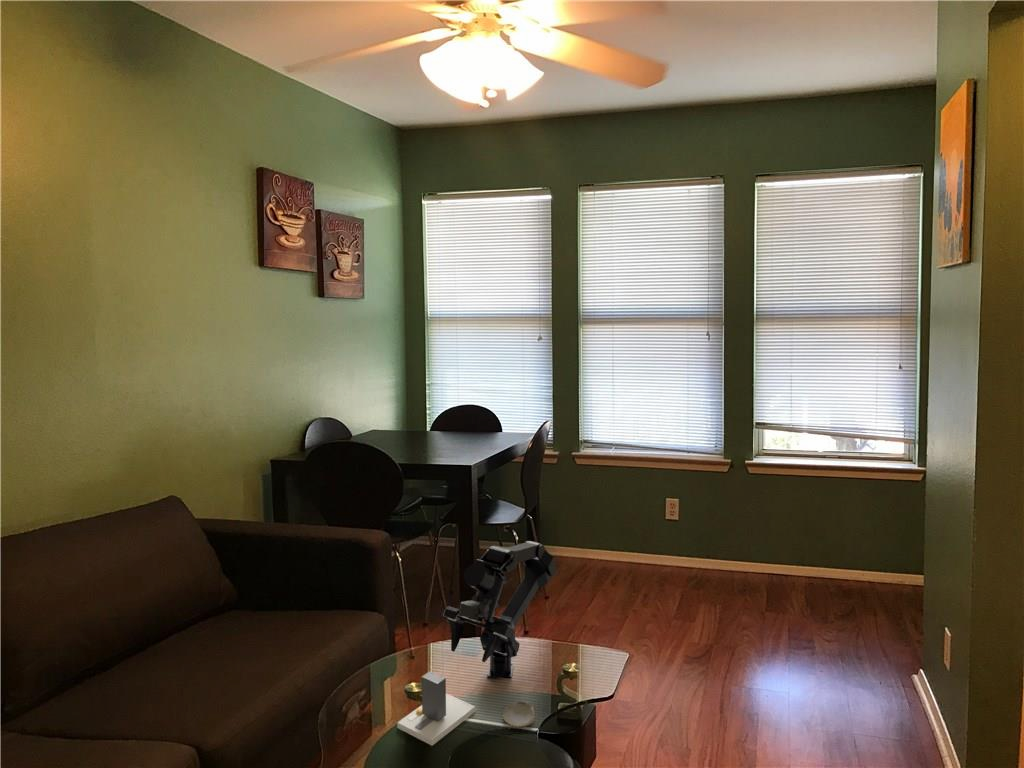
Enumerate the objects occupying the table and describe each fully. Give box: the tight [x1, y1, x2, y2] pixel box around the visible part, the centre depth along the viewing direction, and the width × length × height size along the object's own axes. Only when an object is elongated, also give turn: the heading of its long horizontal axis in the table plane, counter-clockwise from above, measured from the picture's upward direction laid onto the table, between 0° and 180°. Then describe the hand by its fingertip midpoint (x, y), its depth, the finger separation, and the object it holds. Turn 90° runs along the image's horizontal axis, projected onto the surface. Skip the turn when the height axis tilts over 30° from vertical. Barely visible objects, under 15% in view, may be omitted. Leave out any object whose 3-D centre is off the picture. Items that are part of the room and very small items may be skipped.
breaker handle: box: [421, 670, 447, 721], centre depth 195 cm, size 3×5×10 cm, turn 54°
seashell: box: [501, 700, 536, 728], centre depth 198 cm, size 8×3×8 cm
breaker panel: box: [397, 693, 476, 747], centre depth 197 cm, size 16×11×2 cm
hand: (467, 656), depth 202 cm, fingers open, 9 cm apart
